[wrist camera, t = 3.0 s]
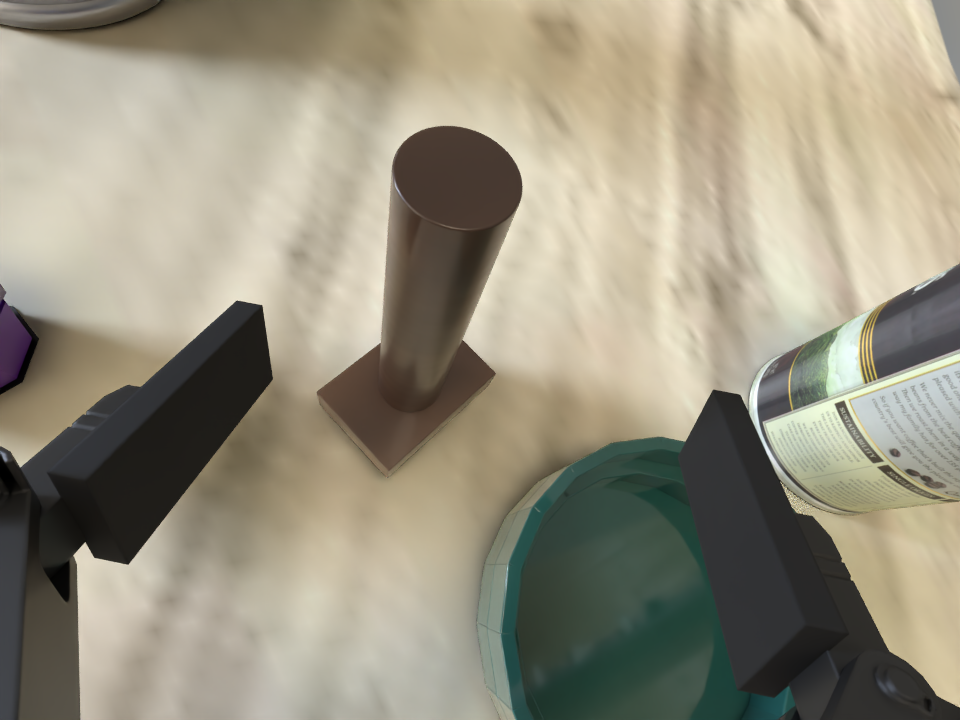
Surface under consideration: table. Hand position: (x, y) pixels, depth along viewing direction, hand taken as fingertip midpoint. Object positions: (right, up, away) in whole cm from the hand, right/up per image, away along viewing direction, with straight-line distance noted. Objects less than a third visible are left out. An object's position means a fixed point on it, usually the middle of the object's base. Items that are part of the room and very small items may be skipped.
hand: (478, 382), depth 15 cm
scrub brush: (-4, -2, +11) cm, 12 cm away
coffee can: (+21, -4, +16) cm, 27 cm away
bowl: (+7, -12, +9) cm, 17 cm away
